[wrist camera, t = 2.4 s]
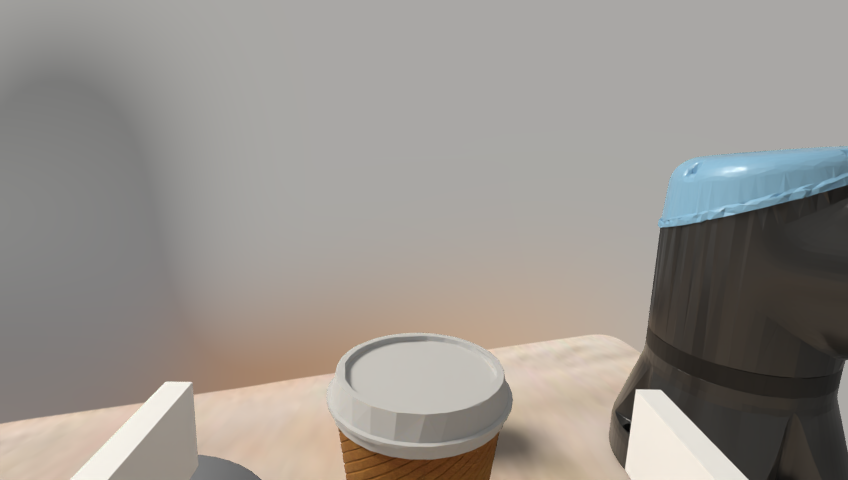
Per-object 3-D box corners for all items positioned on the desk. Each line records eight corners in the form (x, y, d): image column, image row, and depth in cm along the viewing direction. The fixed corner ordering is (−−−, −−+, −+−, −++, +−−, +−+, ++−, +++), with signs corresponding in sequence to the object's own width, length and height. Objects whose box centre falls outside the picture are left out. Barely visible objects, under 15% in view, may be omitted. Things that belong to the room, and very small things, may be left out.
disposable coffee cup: (374, 685, 22) (374, 446, 19) (308, 532, 30) (302, 349, 27) (536, 589, 26) (555, 387, 24) (442, 480, 34) (448, 319, 32)
